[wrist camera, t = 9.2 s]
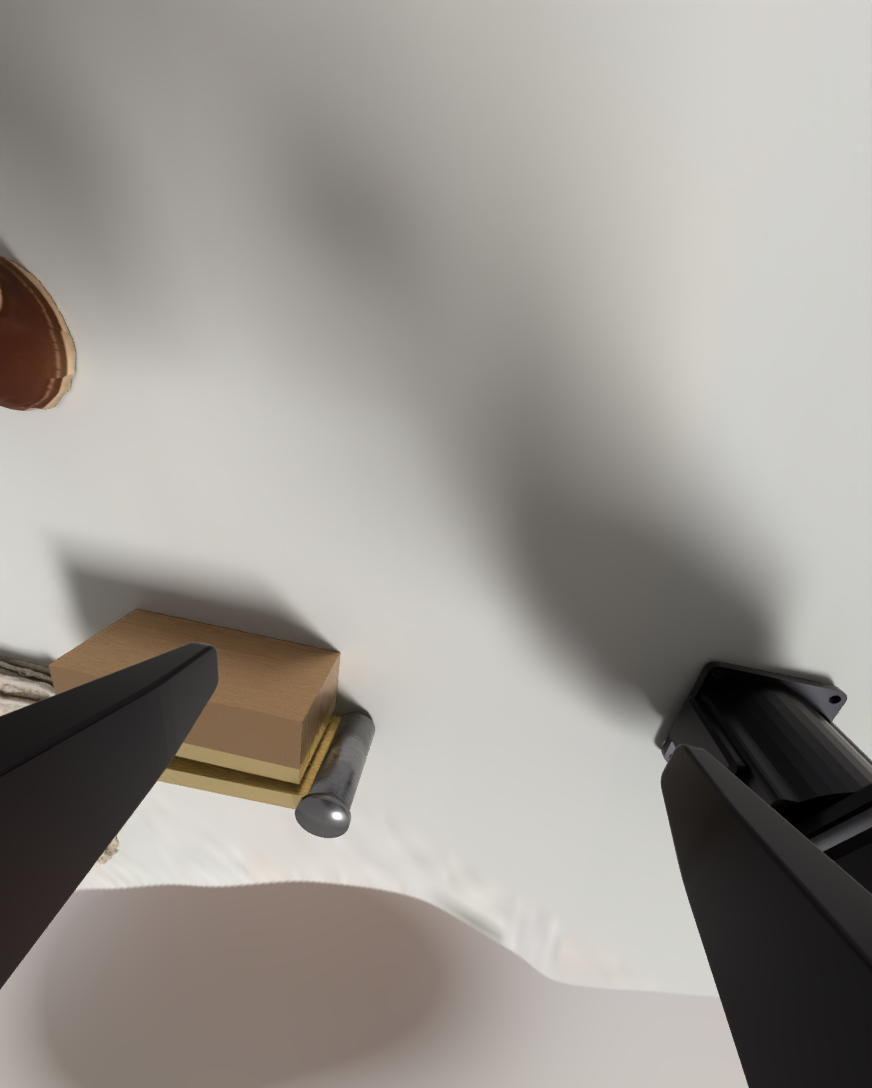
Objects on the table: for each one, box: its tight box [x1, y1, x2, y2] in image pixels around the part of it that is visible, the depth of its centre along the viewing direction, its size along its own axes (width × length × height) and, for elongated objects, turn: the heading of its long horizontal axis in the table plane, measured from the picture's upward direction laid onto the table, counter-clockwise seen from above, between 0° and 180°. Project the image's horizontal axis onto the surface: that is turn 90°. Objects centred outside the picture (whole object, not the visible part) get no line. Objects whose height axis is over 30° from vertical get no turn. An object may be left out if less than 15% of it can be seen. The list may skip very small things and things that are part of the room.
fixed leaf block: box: [49, 609, 340, 784], centre depth 21 cm, size 12×4×5 cm, turn 80°
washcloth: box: [0, 657, 119, 867], centre depth 28 cm, size 12×18×3 cm, turn 170°
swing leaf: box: [157, 713, 375, 838], centre depth 22 cm, size 15×3×6 cm, turn 83°
